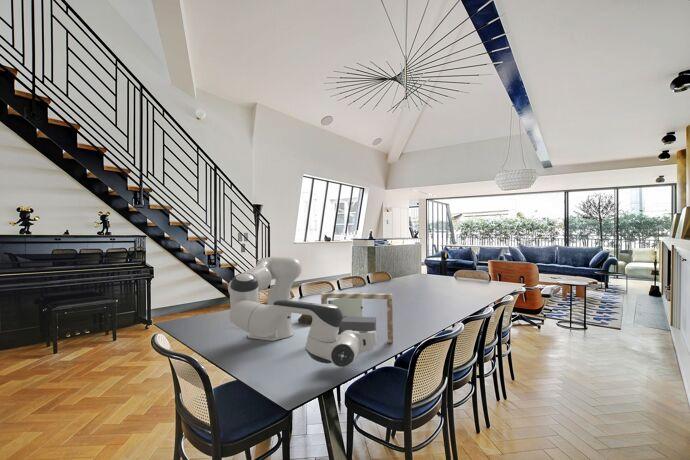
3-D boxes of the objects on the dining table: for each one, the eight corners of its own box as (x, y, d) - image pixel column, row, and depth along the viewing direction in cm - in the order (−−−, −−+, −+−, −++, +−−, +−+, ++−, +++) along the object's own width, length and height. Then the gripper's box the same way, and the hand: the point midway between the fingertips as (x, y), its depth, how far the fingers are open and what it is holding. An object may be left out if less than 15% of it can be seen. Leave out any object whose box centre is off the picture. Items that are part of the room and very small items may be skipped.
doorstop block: (341, 340, 145) (340, 321, 146) (344, 334, 155) (344, 316, 155) (374, 341, 143) (374, 322, 143) (376, 335, 152) (376, 317, 152)
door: (331, 339, 145) (330, 301, 145) (326, 338, 147) (326, 300, 147) (363, 324, 167) (362, 291, 167) (359, 324, 169) (358, 291, 169)
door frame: (321, 340, 146) (321, 293, 146) (323, 338, 148) (322, 292, 149) (393, 343, 140) (392, 294, 141) (393, 341, 143) (392, 293, 143)
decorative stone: (323, 314, 170) (298, 304, 170) (316, 332, 171) (291, 322, 171) (326, 306, 186) (304, 297, 186) (320, 322, 187) (297, 313, 187)
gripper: (322, 355, 112) (329, 345, 126) (377, 349, 110) (378, 340, 124) (319, 337, 113) (327, 330, 127) (374, 331, 111) (376, 324, 124)
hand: (353, 335), depth 125 cm, fingers closed
